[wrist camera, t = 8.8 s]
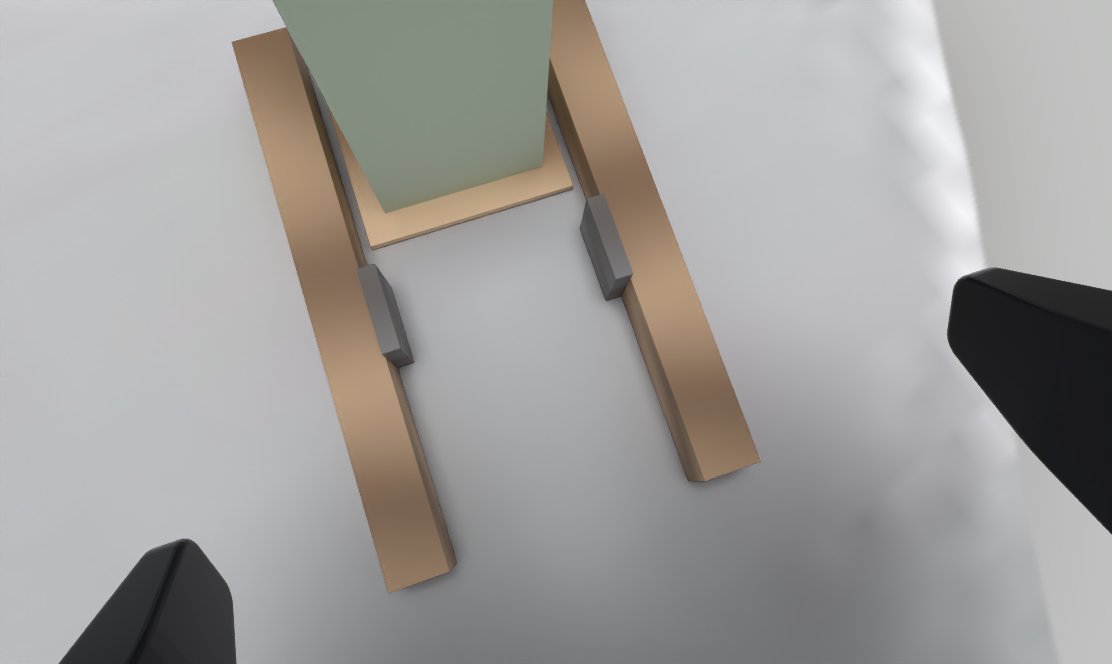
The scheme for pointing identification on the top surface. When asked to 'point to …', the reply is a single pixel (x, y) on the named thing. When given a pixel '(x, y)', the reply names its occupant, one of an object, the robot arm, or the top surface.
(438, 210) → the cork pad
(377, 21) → the sage block
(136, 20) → the top surface
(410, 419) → the wooden leg stand
